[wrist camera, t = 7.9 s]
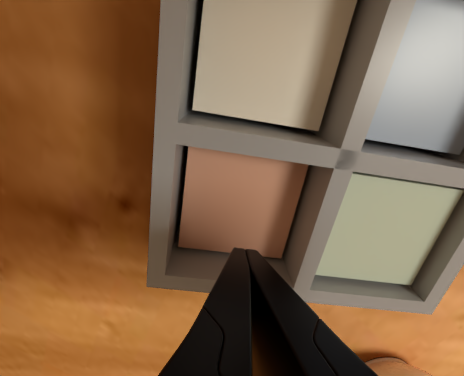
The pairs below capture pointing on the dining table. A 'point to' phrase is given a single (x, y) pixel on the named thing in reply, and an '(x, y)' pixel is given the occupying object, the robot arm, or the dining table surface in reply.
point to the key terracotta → (238, 201)
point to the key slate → (426, 82)
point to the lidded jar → (394, 367)
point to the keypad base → (299, 151)
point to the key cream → (270, 58)
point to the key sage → (386, 228)
